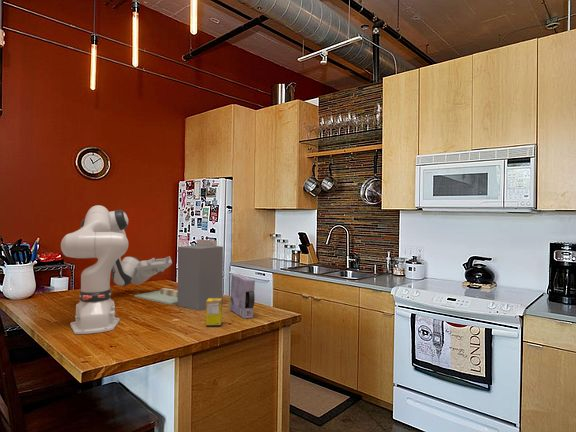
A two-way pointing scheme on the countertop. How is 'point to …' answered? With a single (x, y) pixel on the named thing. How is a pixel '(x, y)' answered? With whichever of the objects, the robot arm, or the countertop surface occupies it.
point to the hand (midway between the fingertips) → (161, 258)
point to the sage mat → (158, 297)
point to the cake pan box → (242, 296)
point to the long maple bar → (169, 292)
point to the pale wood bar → (207, 243)
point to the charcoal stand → (199, 275)
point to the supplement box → (214, 312)
